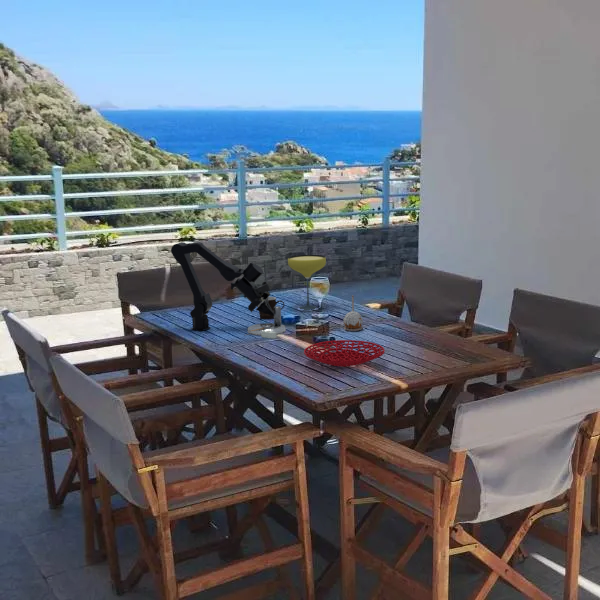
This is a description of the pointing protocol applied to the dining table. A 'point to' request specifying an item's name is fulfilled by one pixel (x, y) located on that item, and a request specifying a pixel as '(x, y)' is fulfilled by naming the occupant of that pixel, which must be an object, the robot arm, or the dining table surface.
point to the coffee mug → (272, 304)
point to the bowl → (344, 353)
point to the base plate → (267, 334)
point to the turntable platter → (269, 325)
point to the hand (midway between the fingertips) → (273, 315)
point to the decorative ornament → (353, 319)
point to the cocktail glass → (307, 269)
